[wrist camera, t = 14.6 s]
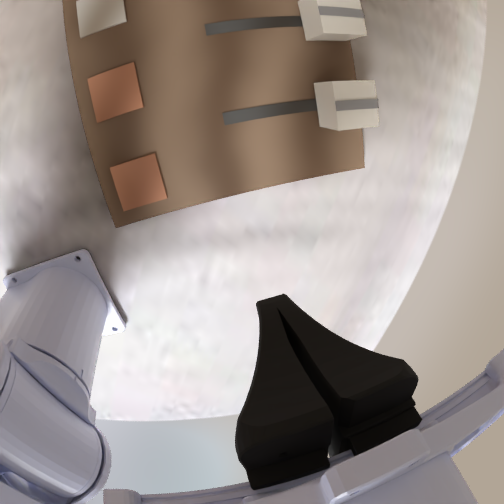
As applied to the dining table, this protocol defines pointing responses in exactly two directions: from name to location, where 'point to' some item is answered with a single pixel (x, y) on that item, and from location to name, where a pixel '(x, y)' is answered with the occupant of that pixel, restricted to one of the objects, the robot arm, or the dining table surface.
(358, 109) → the slider
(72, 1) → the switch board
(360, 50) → the dining table surface
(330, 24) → the slider middle
